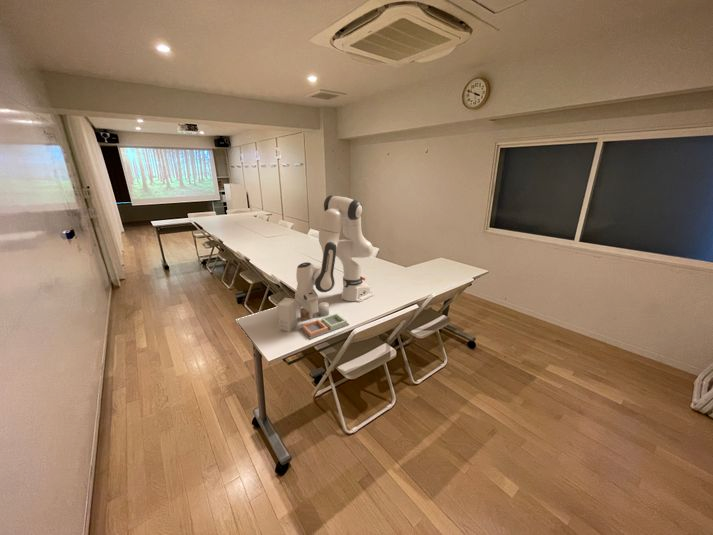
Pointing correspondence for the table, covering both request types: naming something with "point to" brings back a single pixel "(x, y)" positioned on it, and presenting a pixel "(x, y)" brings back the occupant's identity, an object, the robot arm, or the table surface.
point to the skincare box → (287, 314)
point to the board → (323, 326)
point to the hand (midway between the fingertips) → (306, 314)
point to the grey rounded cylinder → (323, 309)
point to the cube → (305, 315)
